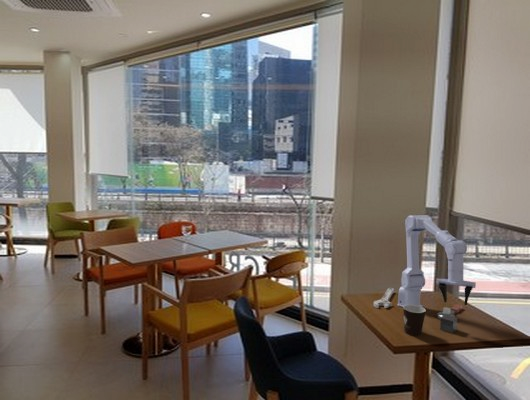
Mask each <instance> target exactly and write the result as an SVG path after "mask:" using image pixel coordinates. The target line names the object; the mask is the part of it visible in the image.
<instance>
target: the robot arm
mask: <svg viewBox="0 0 530 400" xmlns="http://www.w3.org/2000/svg"><path fill="white" fill-rule="evenodd" d="M404 223H405V234H406V236H405V237H406V238H405V239H406V263H407V265H406V268H405V269H404V270H403V271H402V273H401V279H400V283H401V286H400V287H399V290H398V294H397V295H398V297H397V306H398V307H402V308H403V306H405V305H416V306H420V307H423V306H424V305H422V304H421V292H422V291H421V290H422V289H423V288H424V287H425V286H426V278H425V275H424V273H425V272H424V271H423V269H421V268H420V256H419V255H420V251H419V235H420V234H422V232H424V231H428V232H429V233H430V234H432V235H433V236H435V240H436V242H437V243H439V244H440V245H441V246H442V247H444V251H445V253H446V258H447V264H448V265H447V270H448V271H447V278H436V281H435V282H436V285H438V288H439V289H440V293H442V295H441V296H442V297H443V303H447V302H448V297H447V296H448V293H447V291H448V286H456V287H464V305H465V306H468V300H469V297H470V294H471V293H472V290H473V289H476V282H474V281H468V280H464V256H465V254H466V253H467V251H468V246H467V244H466V242H465V241H464V240H461V239H457V238H456V237H454V236H453V235H452V234H451V233H450V232H449V230H446V229H445V230H442V229H441V228H440V227H439V226H438V225H436V223H435V222H433V218H432V217H430V216H429V215H427V214H424V215H423V214H421V215H411V214H410V215H408V216H407V217H406V219H405V222H404ZM423 308H424V307H423Z"/></svg>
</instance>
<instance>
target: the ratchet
mask: <svg viewBox="0 0 530 400" xmlns="http://www.w3.org/2000/svg"><path fill="white" fill-rule="evenodd" d="M461 310H463V305H462V304H458V303H457V304H454V306H452V307H446V306H444V307H443V308H442V311H439V312H438V313H437V317H436V318H437V319H438V320H440V321H441V318H442V317H443V316H444V315H448V316H452V317H455V318H456V314H458V313H459V312H460V311H461Z"/></svg>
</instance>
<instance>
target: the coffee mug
mask: <svg viewBox="0 0 530 400" xmlns="http://www.w3.org/2000/svg"><path fill="white" fill-rule="evenodd" d="M402 309H403V326H404V328H403V329H404V333H405V334H407V335H409V336H412V337H413V336H414V337H418V336H421V335H422V332H423V328H424V322H425V316H426V312H427V310H426V308H424V307H420V306H416V305H405V306H403V307H402Z"/></svg>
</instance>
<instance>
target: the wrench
mask: <svg viewBox="0 0 530 400" xmlns="http://www.w3.org/2000/svg"><path fill="white" fill-rule="evenodd" d="M394 289H395V288H393V287H388V288H387V289H386V291H385V293H384V294H383V296H382V297H381V298H380V299H378V300H374V301H373V304H372V305H373V307H374V308H376V309H379V308H380V307H384V308H385V309H388V308H389V307H393V303H392V302H390V299H391V297H392V296H393V293H395V292H394V291H395V290H394Z"/></svg>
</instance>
